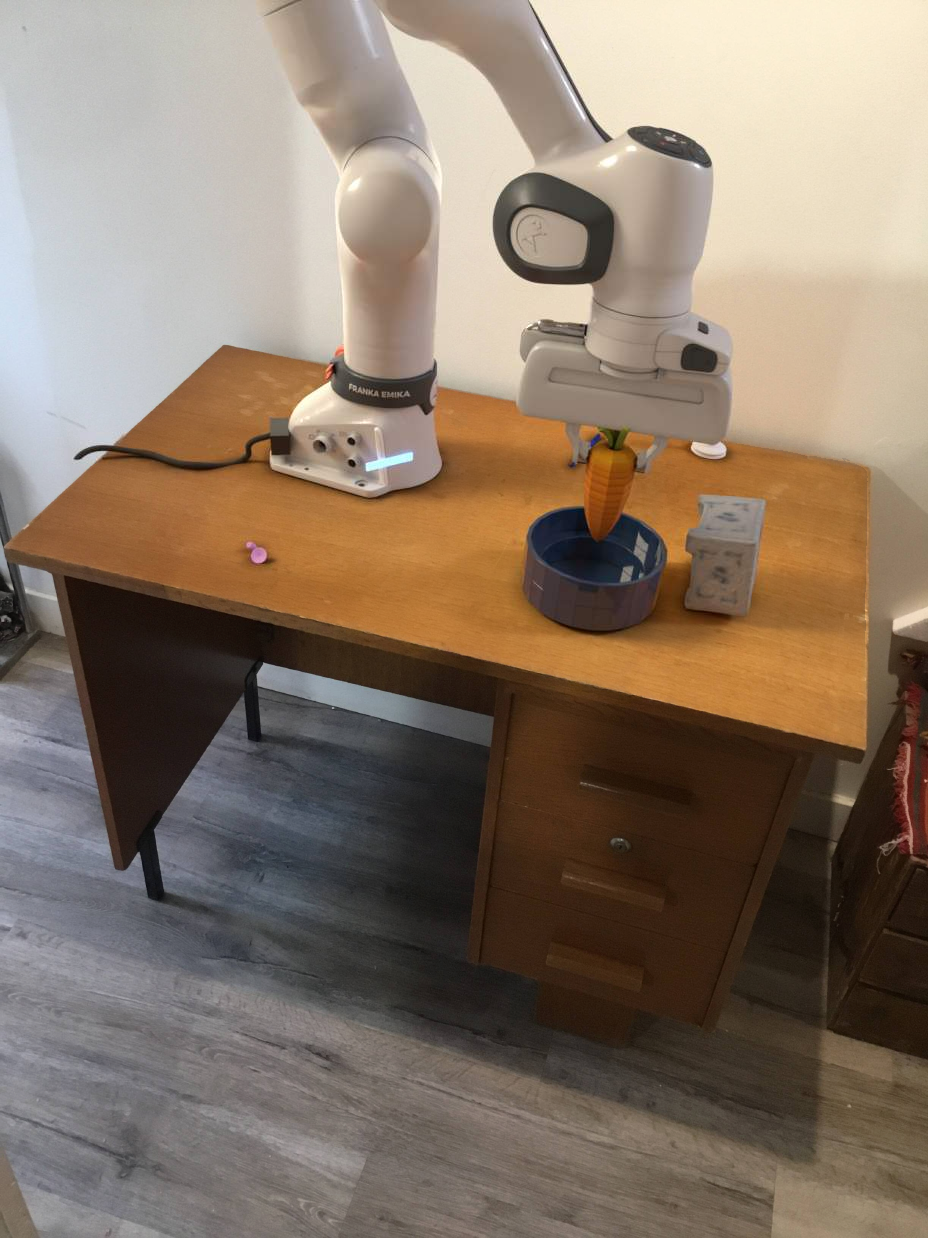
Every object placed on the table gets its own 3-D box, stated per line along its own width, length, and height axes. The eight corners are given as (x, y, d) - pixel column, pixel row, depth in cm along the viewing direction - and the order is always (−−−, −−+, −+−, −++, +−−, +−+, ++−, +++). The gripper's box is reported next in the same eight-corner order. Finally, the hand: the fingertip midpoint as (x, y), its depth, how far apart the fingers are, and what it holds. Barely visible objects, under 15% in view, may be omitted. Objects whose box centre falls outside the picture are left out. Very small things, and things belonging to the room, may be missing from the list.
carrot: (618, 557, 95) (645, 427, 85) (571, 550, 95) (592, 419, 86) (622, 532, 99) (647, 404, 89) (576, 525, 99) (597, 397, 90)
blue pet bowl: (527, 633, 95) (534, 583, 91) (514, 551, 106) (520, 503, 102) (668, 636, 96) (681, 587, 92) (640, 554, 108) (651, 507, 104)
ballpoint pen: (595, 436, 131) (596, 430, 130) (601, 438, 130) (602, 432, 130) (568, 467, 123) (569, 461, 123) (575, 469, 123) (576, 463, 122)
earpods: (263, 569, 103) (274, 558, 103) (258, 566, 101) (269, 555, 101) (246, 551, 104) (257, 540, 104) (241, 548, 102) (252, 536, 102)
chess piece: (730, 449, 130) (748, 383, 124) (718, 462, 126) (736, 395, 120) (698, 438, 132) (714, 373, 125) (685, 451, 128) (701, 385, 122)
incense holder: (682, 560, 107) (702, 483, 101) (753, 577, 105) (778, 500, 99) (667, 607, 100) (688, 527, 93) (744, 627, 98) (770, 547, 91)
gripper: (517, 328, 82) (503, 464, 90) (749, 360, 79) (712, 497, 87) (528, 304, 86) (515, 435, 95) (747, 334, 84) (712, 466, 92)
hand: (611, 465), depth 91 cm, fingers closed on carrot, 5 cm apart
